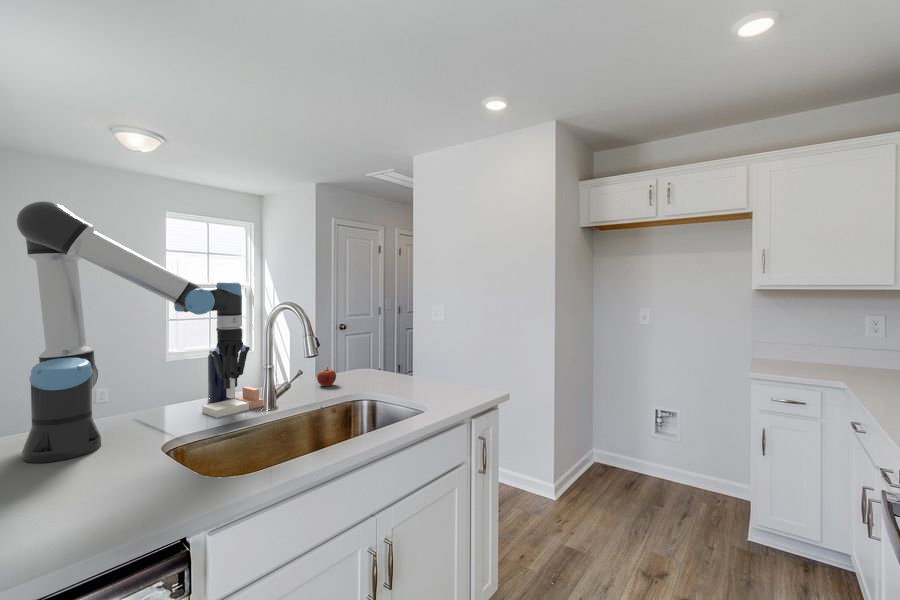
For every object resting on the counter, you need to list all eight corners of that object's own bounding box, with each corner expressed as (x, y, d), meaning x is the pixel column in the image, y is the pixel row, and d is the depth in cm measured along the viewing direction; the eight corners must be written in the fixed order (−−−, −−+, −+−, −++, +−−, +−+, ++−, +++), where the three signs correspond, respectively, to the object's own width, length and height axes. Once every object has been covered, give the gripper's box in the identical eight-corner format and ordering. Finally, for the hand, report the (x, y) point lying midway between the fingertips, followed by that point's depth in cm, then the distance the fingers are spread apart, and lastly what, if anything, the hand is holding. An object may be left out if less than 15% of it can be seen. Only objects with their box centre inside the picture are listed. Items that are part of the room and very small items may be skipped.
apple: (337, 383, 192) (337, 365, 192) (334, 387, 184) (334, 369, 184) (319, 383, 192) (319, 365, 191) (315, 387, 184) (315, 369, 183)
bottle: (241, 400, 163) (240, 320, 162) (226, 406, 154) (225, 322, 153) (218, 399, 164) (217, 320, 163) (201, 406, 155) (201, 322, 154)
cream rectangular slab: (216, 417, 138) (216, 409, 138) (202, 412, 143) (202, 405, 143) (249, 409, 147) (249, 402, 147) (234, 405, 152) (234, 398, 152)
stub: (249, 409, 147) (249, 391, 147) (235, 404, 152) (235, 388, 152) (263, 406, 151) (263, 389, 151) (249, 401, 156) (249, 385, 156)
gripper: (215, 330, 138) (217, 403, 139) (254, 327, 149) (255, 395, 149) (204, 328, 142) (205, 399, 143) (242, 325, 153) (243, 391, 154)
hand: (230, 397), depth 146 cm, fingers closed
